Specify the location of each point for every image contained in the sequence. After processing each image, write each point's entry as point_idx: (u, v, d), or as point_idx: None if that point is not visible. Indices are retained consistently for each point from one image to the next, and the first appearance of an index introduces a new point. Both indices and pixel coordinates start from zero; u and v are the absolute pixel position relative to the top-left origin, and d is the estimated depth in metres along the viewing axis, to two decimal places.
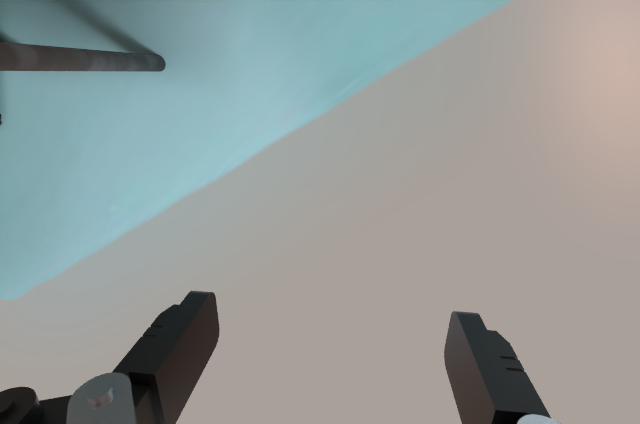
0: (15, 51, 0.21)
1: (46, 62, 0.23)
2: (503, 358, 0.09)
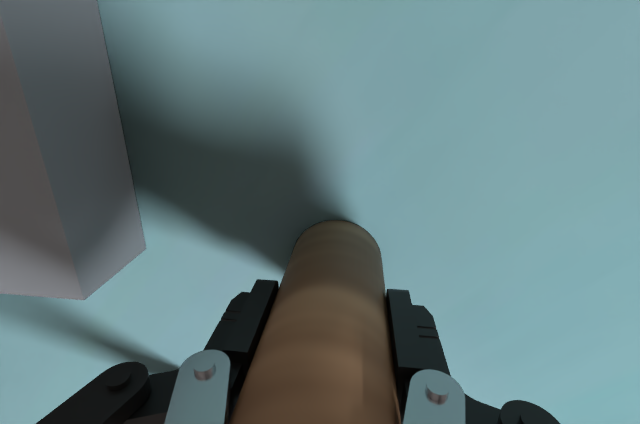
0: None
1: None
2: (423, 328, 0.11)
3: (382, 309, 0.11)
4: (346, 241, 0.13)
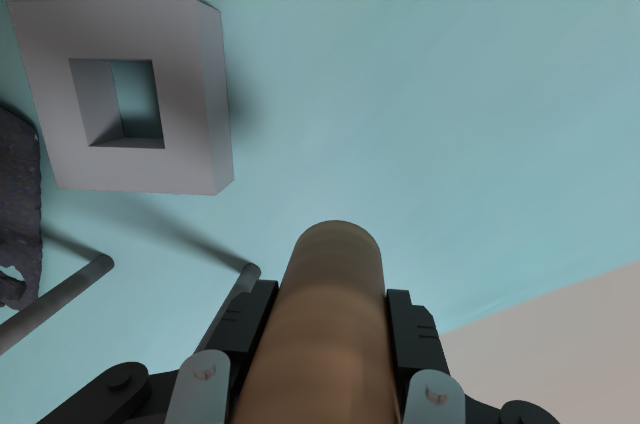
0: None
1: None
2: (423, 328, 0.11)
3: (382, 309, 0.11)
4: (346, 241, 0.13)
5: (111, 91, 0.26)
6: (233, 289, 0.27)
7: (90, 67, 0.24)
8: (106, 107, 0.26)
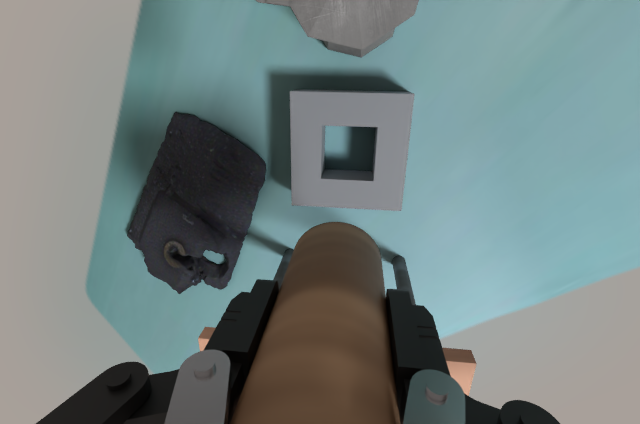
0: None
1: None
2: (423, 328, 0.11)
3: (382, 311, 0.11)
4: (346, 243, 0.13)
5: (324, 140, 0.39)
6: (399, 272, 0.40)
7: (323, 127, 0.37)
8: (323, 151, 0.38)
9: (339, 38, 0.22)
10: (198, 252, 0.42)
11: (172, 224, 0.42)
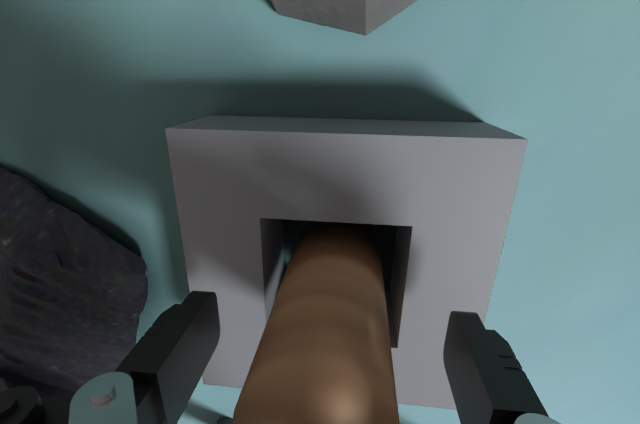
0: None
1: None
2: (501, 357, 0.09)
3: (378, 277, 0.13)
4: None
5: (281, 229, 0.17)
6: None
7: None
8: (277, 258, 0.17)
9: None
10: None
11: None
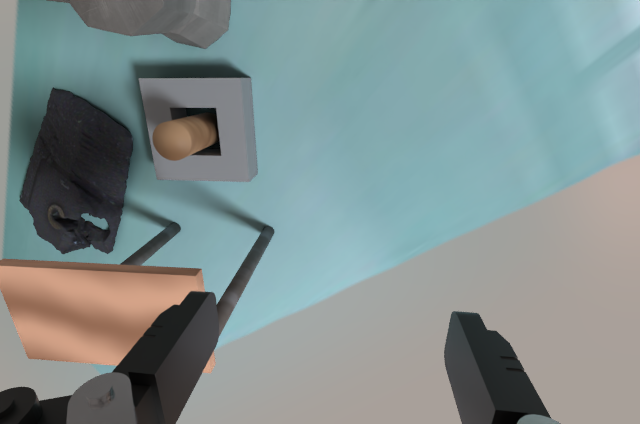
0: (232, 304, 0.33)
1: (239, 297, 0.35)
2: (503, 358, 0.09)
3: (206, 124, 0.40)
4: (205, 114, 0.42)
5: None
6: (258, 238, 0.46)
7: (178, 110, 0.42)
8: None
9: (110, 27, 0.27)
10: (74, 214, 0.47)
11: (52, 189, 0.47)
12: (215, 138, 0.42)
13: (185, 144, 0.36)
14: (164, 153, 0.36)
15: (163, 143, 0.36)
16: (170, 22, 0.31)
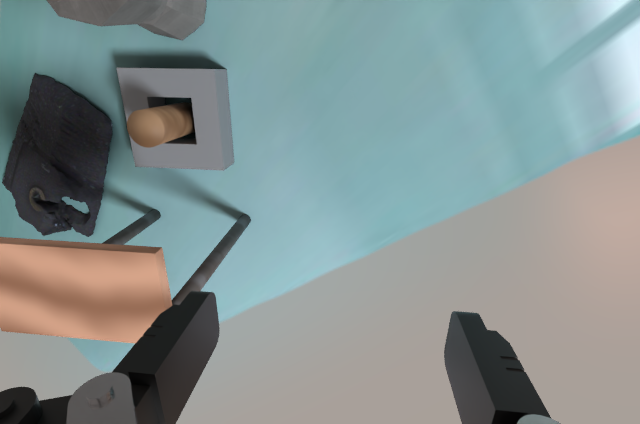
0: (199, 285, 0.35)
1: (208, 278, 0.37)
2: (503, 358, 0.09)
3: (182, 113, 0.42)
4: (181, 103, 0.44)
5: None
6: (233, 225, 0.47)
7: (155, 100, 0.44)
8: None
9: (80, 17, 0.29)
10: (54, 197, 0.48)
11: (34, 172, 0.49)
12: (191, 127, 0.44)
13: (158, 132, 0.37)
14: (138, 140, 0.38)
15: (137, 130, 0.37)
16: (141, 13, 0.32)
